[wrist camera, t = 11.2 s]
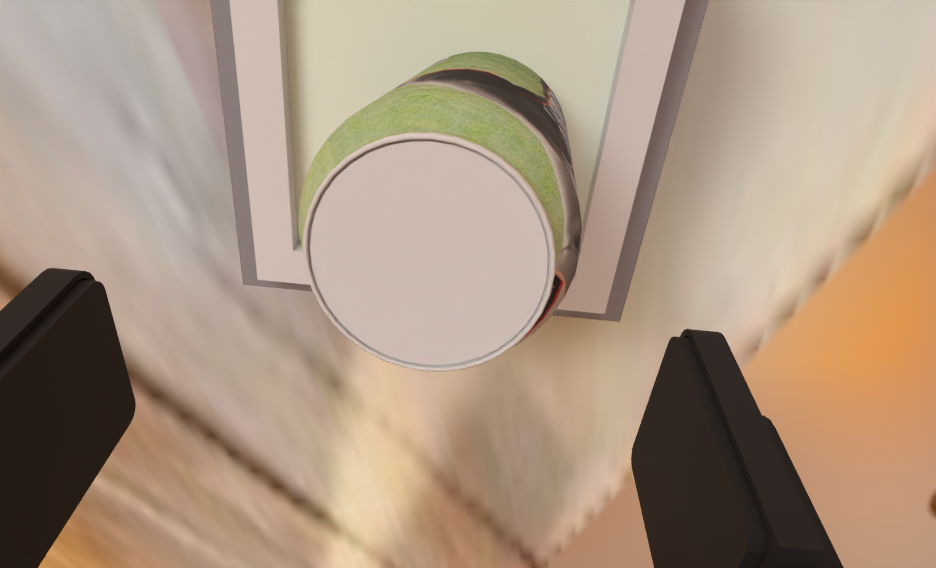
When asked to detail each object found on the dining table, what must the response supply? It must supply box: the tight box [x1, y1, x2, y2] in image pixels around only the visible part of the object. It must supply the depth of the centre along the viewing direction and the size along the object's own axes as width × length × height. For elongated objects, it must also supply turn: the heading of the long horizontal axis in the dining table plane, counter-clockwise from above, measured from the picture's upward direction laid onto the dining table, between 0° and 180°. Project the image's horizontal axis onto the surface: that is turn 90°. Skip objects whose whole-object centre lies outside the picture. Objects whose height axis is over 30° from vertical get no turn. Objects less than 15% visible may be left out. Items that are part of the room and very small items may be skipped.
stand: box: [210, 0, 708, 322], centre depth 26 cm, size 16×16×9 cm
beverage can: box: [299, 52, 582, 372], centre depth 17 cm, size 6×7×12 cm
